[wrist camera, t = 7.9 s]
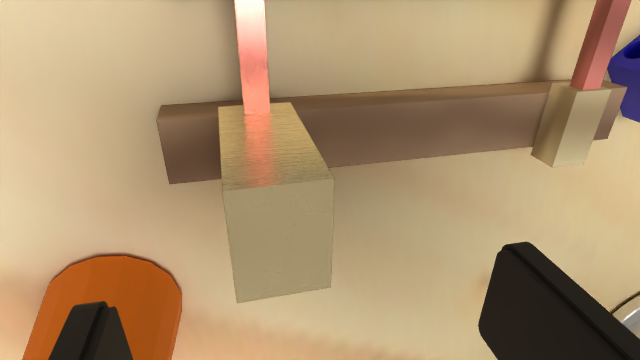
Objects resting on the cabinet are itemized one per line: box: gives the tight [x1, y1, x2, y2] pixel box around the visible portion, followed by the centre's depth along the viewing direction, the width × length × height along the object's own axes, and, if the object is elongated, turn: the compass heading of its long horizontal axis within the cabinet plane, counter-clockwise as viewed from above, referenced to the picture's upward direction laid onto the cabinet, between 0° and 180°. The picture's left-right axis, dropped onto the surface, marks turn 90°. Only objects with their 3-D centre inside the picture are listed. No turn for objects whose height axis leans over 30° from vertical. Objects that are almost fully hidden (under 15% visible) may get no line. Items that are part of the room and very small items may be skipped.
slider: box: [218, 0, 334, 303], centre depth 13 cm, size 10×3×7 cm, turn 179°
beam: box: [156, 0, 631, 184], centre depth 18 cm, size 10×24×4 cm, turn 90°
